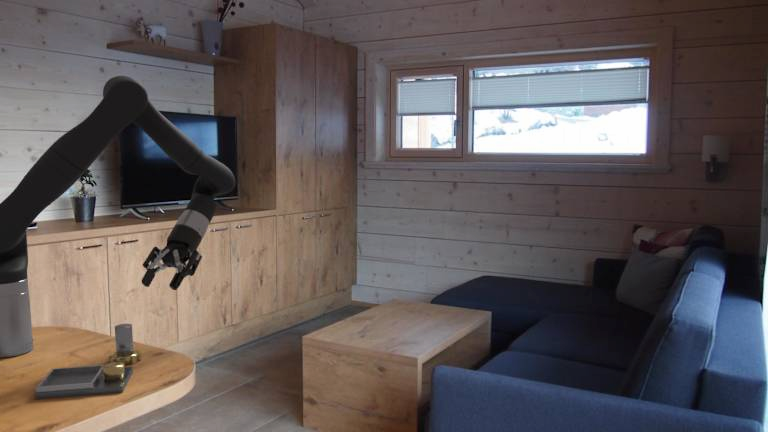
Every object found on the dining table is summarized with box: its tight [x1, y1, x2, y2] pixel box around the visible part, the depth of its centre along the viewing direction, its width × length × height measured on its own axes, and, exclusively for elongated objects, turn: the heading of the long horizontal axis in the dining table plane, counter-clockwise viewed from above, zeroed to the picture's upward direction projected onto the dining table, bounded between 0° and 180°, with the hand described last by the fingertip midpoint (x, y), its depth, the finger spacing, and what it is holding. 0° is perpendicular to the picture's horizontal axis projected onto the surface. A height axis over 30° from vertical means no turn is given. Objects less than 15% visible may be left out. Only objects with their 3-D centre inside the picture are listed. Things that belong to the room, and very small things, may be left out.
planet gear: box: [108, 323, 143, 367], centre depth 146 cm, size 7×7×8 cm
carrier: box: [34, 362, 134, 400], centre depth 132 cm, size 16×11×4 cm
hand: (158, 286), depth 155 cm, fingers open, 8 cm apart
